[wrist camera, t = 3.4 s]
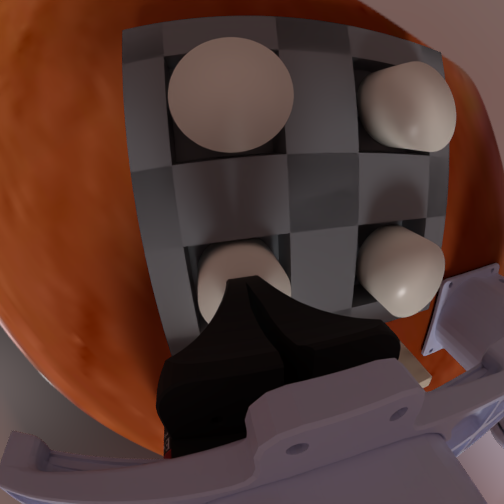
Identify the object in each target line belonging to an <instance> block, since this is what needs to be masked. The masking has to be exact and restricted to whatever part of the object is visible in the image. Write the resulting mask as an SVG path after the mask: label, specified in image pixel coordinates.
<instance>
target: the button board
mask: <svg viewBox="0 0 504 504" xmlns="http://www.w3.org/2000/svg"><path fill="white" fill-rule="evenodd" d="M224 37H238V38H245V39H249V40H252V41H255V42H257V43H260V44H262V45H263V46H265V47H267V48H268V49H270V50H271V51H273V52H274V53H275V54H276V55H277V56H278V57H279V58H280V59H281V61H282V62H283V63H284V65H285V66H286V68H287V70H288V72H289V74H290V76H291V80H292V83H293V90H294V100H293V106H292V110H291V113H290V116H289V118H288V120H287V122H286V123H285V125H284V127H283V128H282V129H281V130H280V132H279V133H278V134H277V135H276V136H274V137H273V138H272V139H271V140H269V141H268V142H266V143H265V144H263V145H261V146H259V147H257V148H254V149H251V150H248V151H243V152H234V153H227V152H218V151H214V150H210V149H208V148H205V147H202V146H200V145H198V144H197V143H195V142H194V141H192V140H191V139H189V138H188V137H187V136H186V135H185V134H184V133H183V132H182V131H181V130H180V128H179V127H178V126H177V124H176V123H175V121H174V119H173V117H172V114H171V111H170V108H169V103H168V88H169V82H170V79H171V76H172V74H173V71H174V69H175V68H176V66H177V65H178V63H179V62H180V60H181V59H182V58H183V57H184V56H185V55H186V54H187V53H188V52H189V51H191V50H192V49H194V48H195V47H197V46H198V45H200V44H202V43H204V42H207V41H210V40H213V39H217V38H224ZM413 61H419V62H423V63H426V64H428V65H430V66H431V67H433V68H434V69H435V70H436V71H437V72H439V74H440V75H441V76H442V77H443V78H444V80H445V76H444V69H443V62H442V56H441V52H438V51H436V50H433V49H430V48H428V47H425V46H422V45H419V44H416V43H413V42H410V41H407V40H404V39H401V38H397V37H394V36H391V35H387V34H383V33H379V32H376V31H371V30H367V29H363V28H358V27H354V26H348V25H343V24H338V23H332V22H325V21H318V20H310V19H301V18H290V17H275V16H218V17H203V18H192V19H183V20H175V21H168V22H161V23H155V24H150V25H145V26H140V27H135V28H130V29H126V30H123V33H122V70H123V96H124V112H125V125H126V136H127V146H128V155H129V163H130V171H131V178H132V185H133V192H134V198H135V204H136V210H137V216H138V222H139V227H140V232H141V238H142V243H143V247H144V252H145V257H146V262H147V266H148V270H149V275H150V279H151V283H152V287H153V291H154V295H155V299H156V303H157V307H158V311H159V314H160V318H161V322H162V325H163V329H164V332H165V335H166V339H167V342H168V345H169V349H170V352H171V355H172V356H173V355H175V354H177V353H178V352H180V351H181V350H183V349H184V348H185V347H187V346H188V345H189V344H190V343H192V342H193V341H194V340H195V339H196V338H197V337H198V336H199V335H200V334H201V333H202V332H203V330H204V329H205V328H206V327H207V325H208V323H207V322H206V320H205V319H204V317H203V316H202V314H201V312H200V309H199V305H198V263H199V260H200V257H201V255H202V253H203V252H204V250H205V249H206V248H207V247H208V246H209V245H210V244H211V243H216V242H224V241H231V240H239V239H247V238H255V237H256V238H258V239H260V240H261V241H263V242H264V243H265V244H266V245H267V246H268V247H269V248H270V250H271V251H272V253H273V254H274V256H275V257H276V259H277V261H278V262H279V264H280V265H281V267H282V268H283V270H284V271H285V273H286V274H287V276H288V278H289V281H290V285H291V297H292V298H293V299H295V300H297V301H299V302H301V303H304V304H306V305H309V306H311V307H314V308H317V309H320V310H323V311H326V312H330V313H334V314H338V315H343V316H349V317H355V318H366V319H381V320H382V321H383V322H384V323H385V322H389V321H392V320H395V319H399V318H402V317H396V316H394V315H392V314H391V313H390V312H389V311H388V310H387V309H386V308H385V307H384V306H383V305H382V304H380V303H379V302H378V301H377V300H376V299H375V298H374V297H373V296H372V295H371V294H370V293H369V292H368V291H367V290H366V289H365V288H364V287H363V286H362V285H361V284H360V282H359V281H358V278H357V275H356V260H357V256H358V253H359V250H360V248H361V246H362V244H363V243H364V241H365V240H366V238H367V237H368V236H369V235H370V234H371V233H372V232H373V231H374V230H376V229H377V228H379V227H381V226H384V225H387V224H398V225H400V226H402V227H404V228H406V229H408V230H410V231H412V232H414V233H416V234H418V235H420V236H422V237H424V238H426V239H428V240H430V241H432V242H433V243H435V244H437V245H438V246H439V247H440V249H441V246H442V239H443V232H444V224H445V215H446V205H447V193H448V176H449V143H448V144H447V145H446V146H445V147H444V148H442V149H441V150H439V151H435V152H426V151H419V150H411V149H403V148H394V147H387V146H384V145H382V144H380V143H378V142H377V141H375V140H374V139H373V138H372V137H371V136H370V135H369V134H368V133H367V131H366V130H365V128H364V127H363V125H362V123H361V121H360V118H359V115H358V111H357V100H356V99H357V92H358V88H359V86H360V84H361V82H362V81H363V79H364V78H365V77H366V76H367V75H369V74H370V73H373V72H375V71H379V70H382V69H385V68H389V67H393V66H396V65H400V64H404V63H408V62H413ZM429 305H430V302H429V303H428V304H427V305H426V306H425V307H424V308H423V309H422V310H420V311H423V310H426V309H429ZM420 311H419V312H420Z"/></svg>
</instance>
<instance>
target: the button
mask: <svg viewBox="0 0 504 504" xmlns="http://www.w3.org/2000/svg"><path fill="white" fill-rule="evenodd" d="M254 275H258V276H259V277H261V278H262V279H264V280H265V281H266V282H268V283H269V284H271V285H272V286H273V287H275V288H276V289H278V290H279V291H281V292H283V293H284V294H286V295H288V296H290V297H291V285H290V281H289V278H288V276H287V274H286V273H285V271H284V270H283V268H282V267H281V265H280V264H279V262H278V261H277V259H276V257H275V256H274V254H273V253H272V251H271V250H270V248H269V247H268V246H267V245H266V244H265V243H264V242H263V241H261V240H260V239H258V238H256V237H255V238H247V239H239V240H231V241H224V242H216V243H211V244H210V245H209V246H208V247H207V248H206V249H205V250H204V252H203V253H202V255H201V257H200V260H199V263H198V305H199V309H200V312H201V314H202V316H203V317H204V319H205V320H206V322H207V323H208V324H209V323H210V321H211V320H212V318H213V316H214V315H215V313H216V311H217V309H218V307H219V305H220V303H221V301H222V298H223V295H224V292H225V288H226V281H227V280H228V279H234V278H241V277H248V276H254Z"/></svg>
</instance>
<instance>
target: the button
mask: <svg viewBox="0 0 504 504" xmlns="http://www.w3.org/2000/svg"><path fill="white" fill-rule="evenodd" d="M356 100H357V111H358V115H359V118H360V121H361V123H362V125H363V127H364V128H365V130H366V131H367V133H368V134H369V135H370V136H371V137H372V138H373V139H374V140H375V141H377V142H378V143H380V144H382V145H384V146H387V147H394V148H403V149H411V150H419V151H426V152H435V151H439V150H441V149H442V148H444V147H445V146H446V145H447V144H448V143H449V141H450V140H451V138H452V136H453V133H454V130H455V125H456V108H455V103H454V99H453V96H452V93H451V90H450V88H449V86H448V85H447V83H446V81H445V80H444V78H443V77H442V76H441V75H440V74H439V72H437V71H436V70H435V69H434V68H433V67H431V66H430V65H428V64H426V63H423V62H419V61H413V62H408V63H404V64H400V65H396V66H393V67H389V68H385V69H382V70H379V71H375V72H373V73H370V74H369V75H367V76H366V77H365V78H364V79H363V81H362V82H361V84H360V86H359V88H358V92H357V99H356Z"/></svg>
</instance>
